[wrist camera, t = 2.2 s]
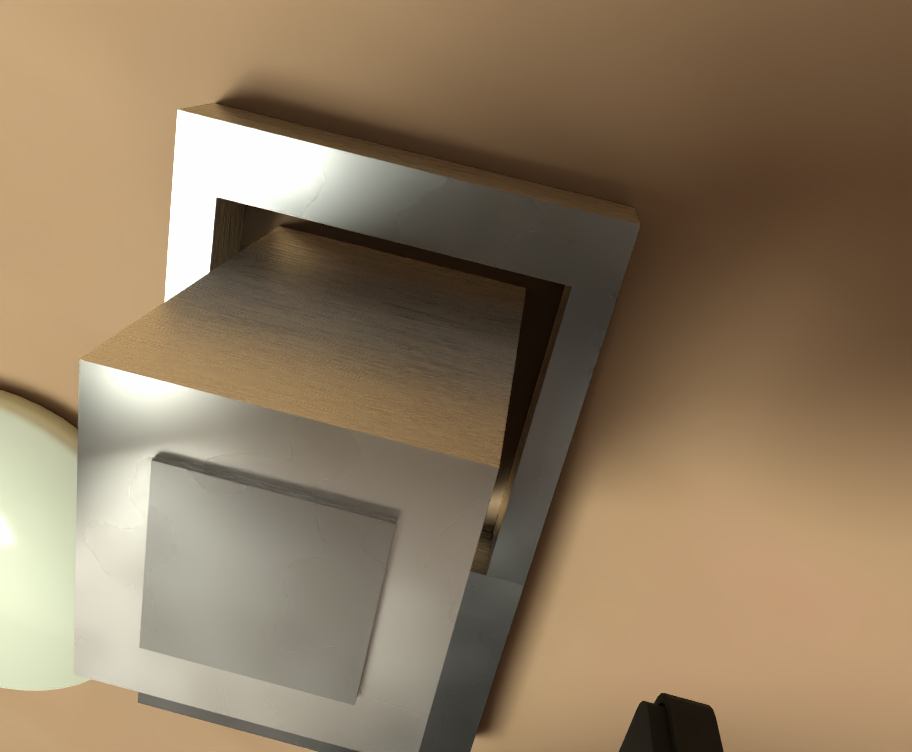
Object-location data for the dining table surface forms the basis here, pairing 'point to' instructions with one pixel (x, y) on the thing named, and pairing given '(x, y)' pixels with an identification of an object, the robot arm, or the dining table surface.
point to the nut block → (292, 486)
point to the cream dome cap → (37, 546)
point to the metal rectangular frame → (443, 231)
